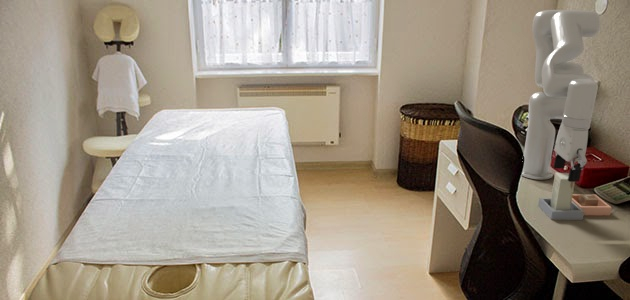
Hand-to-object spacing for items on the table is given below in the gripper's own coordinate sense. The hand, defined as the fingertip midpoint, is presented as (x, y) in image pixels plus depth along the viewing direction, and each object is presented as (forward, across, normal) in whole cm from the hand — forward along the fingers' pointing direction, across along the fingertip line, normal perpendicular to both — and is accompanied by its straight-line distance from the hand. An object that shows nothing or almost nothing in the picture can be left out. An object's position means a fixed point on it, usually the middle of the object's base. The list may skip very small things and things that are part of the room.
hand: (565, 174), depth 153 cm
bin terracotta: (+14, -2, +10) cm, 17 cm away
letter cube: (+13, -2, +10) cm, 16 cm away
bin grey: (+13, +1, 0) cm, 13 cm away
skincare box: (+13, +1, 0) cm, 13 cm away
